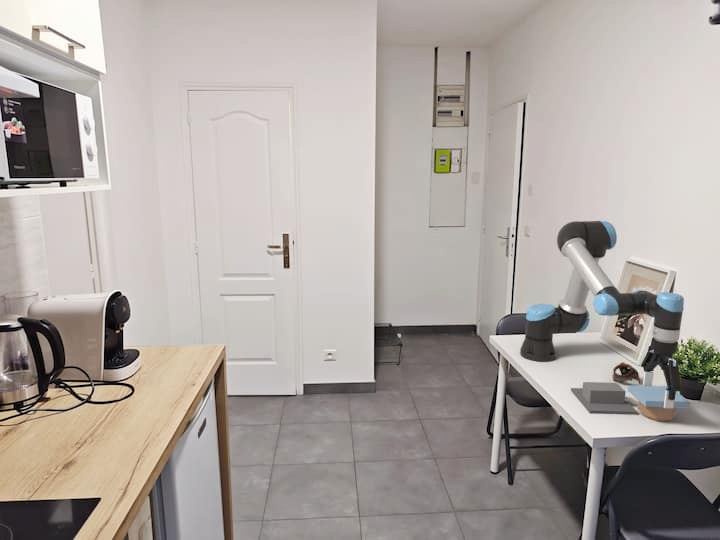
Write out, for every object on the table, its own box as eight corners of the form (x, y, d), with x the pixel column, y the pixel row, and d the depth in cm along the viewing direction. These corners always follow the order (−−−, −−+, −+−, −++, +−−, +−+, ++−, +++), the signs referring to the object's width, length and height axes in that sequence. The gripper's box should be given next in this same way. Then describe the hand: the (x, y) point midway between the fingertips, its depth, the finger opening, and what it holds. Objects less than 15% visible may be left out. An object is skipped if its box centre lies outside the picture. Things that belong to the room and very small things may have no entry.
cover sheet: (627, 390, 171) (628, 385, 171) (668, 391, 170) (669, 386, 170) (645, 406, 159) (645, 400, 159) (689, 407, 159) (690, 402, 158)
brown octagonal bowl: (633, 407, 171) (635, 391, 170) (662, 408, 171) (664, 392, 169) (648, 421, 161) (650, 405, 160) (679, 422, 161) (681, 406, 160)
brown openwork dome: (645, 388, 188) (639, 372, 185) (620, 395, 191) (613, 380, 188) (634, 369, 198) (628, 354, 196) (610, 376, 202) (604, 361, 199)
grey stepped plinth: (570, 390, 185) (572, 375, 184) (613, 391, 184) (615, 376, 183) (589, 413, 167) (591, 397, 166) (637, 414, 166) (639, 398, 165)
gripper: (634, 327, 173) (628, 382, 177) (674, 352, 149) (666, 416, 153) (656, 327, 173) (649, 382, 177) (700, 353, 148) (690, 416, 153)
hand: (657, 398), depth 165 cm, fingers open, 13 cm apart
